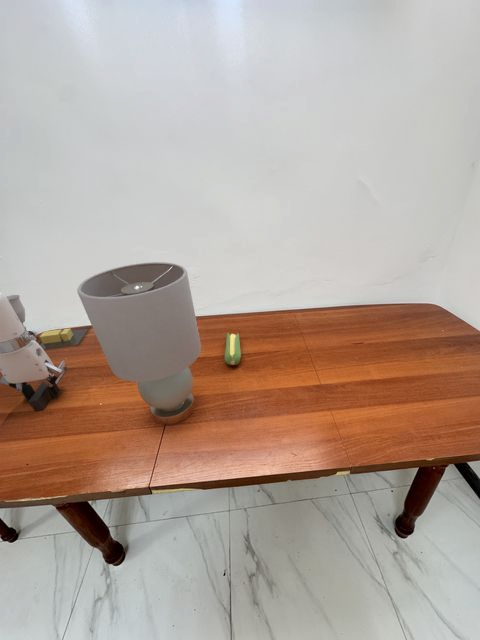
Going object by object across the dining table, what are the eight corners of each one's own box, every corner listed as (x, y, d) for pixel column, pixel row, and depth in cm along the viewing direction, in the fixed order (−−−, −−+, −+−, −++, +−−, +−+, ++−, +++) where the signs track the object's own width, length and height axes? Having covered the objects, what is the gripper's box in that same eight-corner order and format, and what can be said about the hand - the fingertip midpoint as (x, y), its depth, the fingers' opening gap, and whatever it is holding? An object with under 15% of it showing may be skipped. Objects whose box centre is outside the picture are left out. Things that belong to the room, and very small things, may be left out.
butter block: (43, 343, 106) (39, 336, 104) (47, 338, 109) (44, 331, 108) (60, 341, 107) (57, 334, 105) (65, 336, 110) (61, 329, 109)
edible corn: (225, 370, 89) (223, 358, 87) (226, 337, 106) (224, 326, 103) (242, 369, 89) (240, 356, 87) (240, 335, 106) (239, 324, 104)
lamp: (156, 381, 86) (117, 261, 67) (222, 386, 83) (200, 261, 64) (117, 435, 70) (50, 297, 51) (196, 444, 67) (157, 299, 47)
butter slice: (63, 341, 107) (60, 334, 105) (67, 335, 110) (64, 328, 109) (69, 340, 107) (66, 333, 106) (73, 335, 111) (70, 328, 109)
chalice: (27, 350, 106) (0, 304, 96) (16, 347, 108) (-11, 302, 98) (47, 340, 111) (24, 296, 101) (36, 337, 114) (12, 293, 104)
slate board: (37, 353, 104) (35, 350, 103) (51, 336, 113) (49, 333, 113) (79, 348, 105) (77, 344, 104) (89, 332, 115) (88, 328, 114)
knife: (34, 411, 79) (28, 401, 77) (63, 368, 95) (58, 358, 93) (43, 410, 79) (37, 400, 77) (70, 367, 95) (65, 357, 93)
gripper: (54, 330, 76) (81, 384, 86) (-19, 339, 74) (18, 393, 84) (41, 344, 70) (72, 401, 80) (-38, 355, 68) (4, 412, 78)
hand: (44, 396), depth 82 cm, fingers open, 5 cm apart
